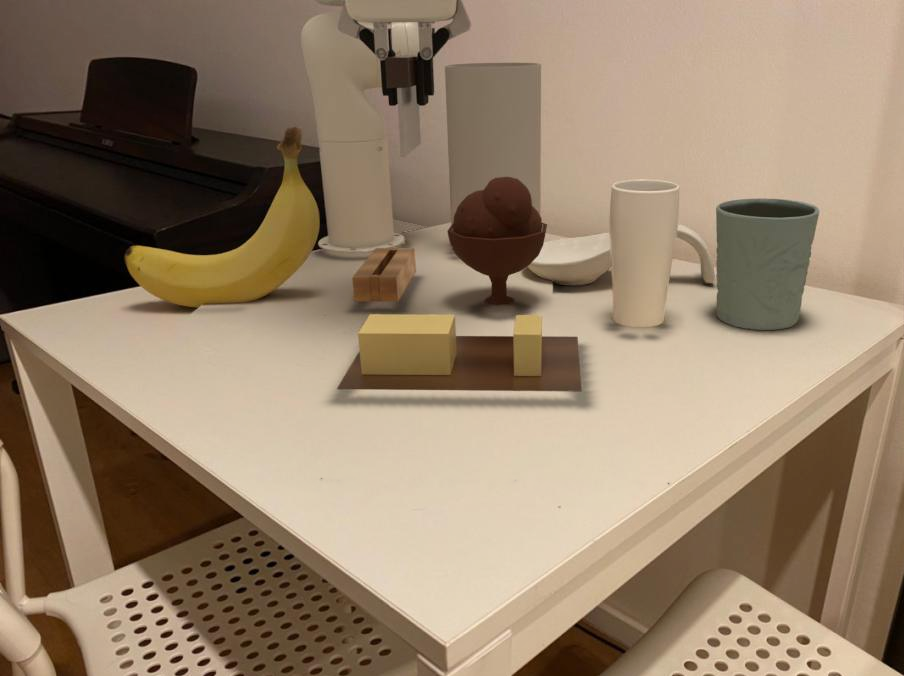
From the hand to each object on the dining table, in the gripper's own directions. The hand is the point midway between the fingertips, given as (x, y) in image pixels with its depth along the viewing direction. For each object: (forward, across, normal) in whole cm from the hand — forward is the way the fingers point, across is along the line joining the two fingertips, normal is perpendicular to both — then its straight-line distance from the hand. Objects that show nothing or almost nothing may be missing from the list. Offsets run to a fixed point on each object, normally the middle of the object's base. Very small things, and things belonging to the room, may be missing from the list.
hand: (409, 102), depth 77 cm
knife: (+4, 0, 0) cm, 4 cm away
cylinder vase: (+24, -6, -31) cm, 39 cm away
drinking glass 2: (+23, -23, 0) cm, 33 cm away
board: (+23, -6, +12) cm, 26 cm away
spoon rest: (+23, -22, -18) cm, 37 cm away
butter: (+22, -1, +13) cm, 25 cm away
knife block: (+23, +6, -12) cm, 27 cm away
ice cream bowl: (+23, -8, -6) cm, 25 cm away
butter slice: (+22, -12, +13) cm, 28 cm away
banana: (+24, +24, -8) cm, 34 cm away
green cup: (+23, -36, -4) cm, 43 cm away
